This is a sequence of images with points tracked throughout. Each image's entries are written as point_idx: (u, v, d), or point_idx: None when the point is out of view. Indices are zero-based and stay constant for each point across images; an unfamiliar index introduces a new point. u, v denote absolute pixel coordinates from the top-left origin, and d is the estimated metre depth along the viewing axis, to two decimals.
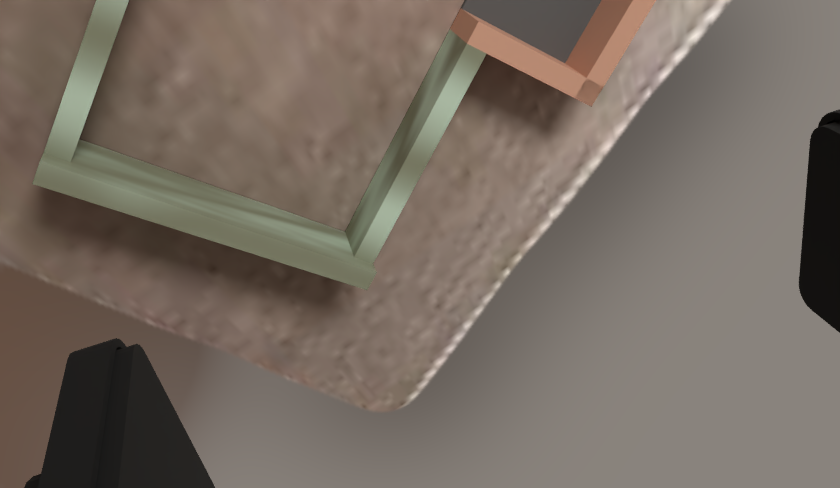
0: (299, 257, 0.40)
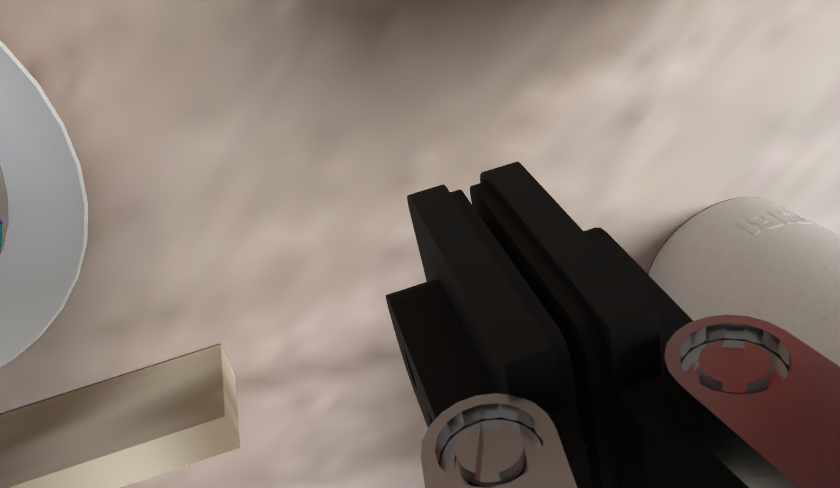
0: None
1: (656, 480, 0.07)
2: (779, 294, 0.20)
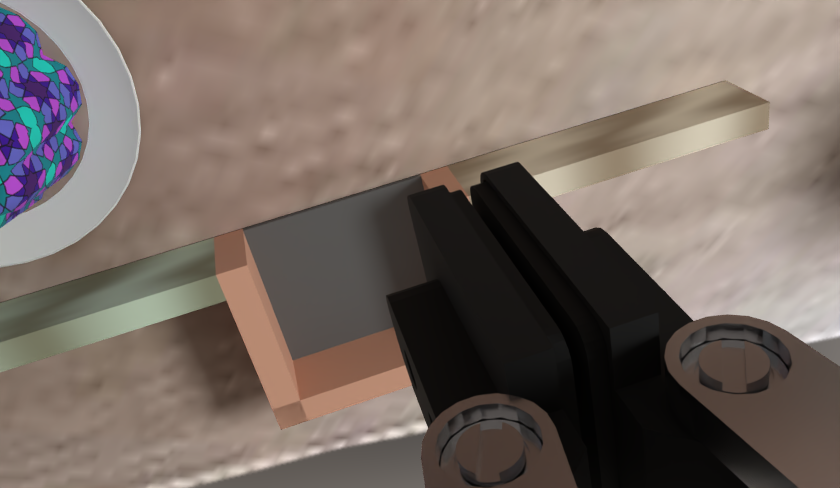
0: None
1: (656, 480, 0.07)
2: None
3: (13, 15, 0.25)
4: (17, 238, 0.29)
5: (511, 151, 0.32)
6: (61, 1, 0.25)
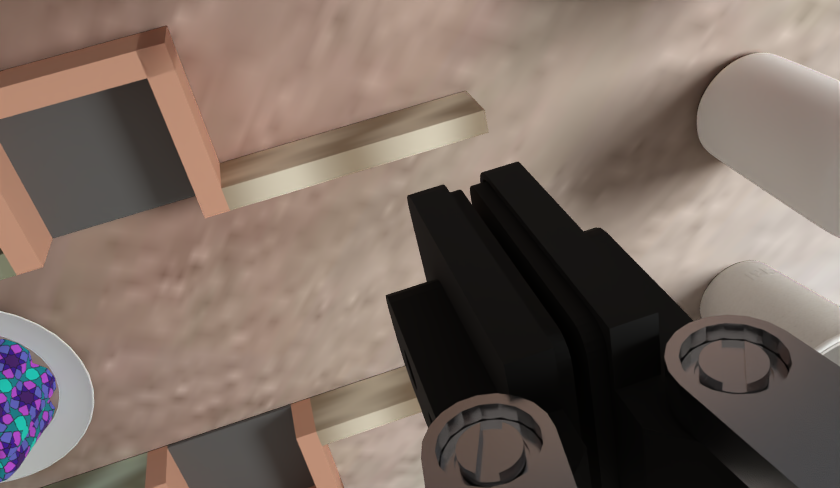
0: None
1: (656, 480, 0.07)
2: (764, 306, 0.46)
3: (14, 344, 0.40)
4: None
5: (353, 388, 0.46)
6: (46, 336, 0.40)
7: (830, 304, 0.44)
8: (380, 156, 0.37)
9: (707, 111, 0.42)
